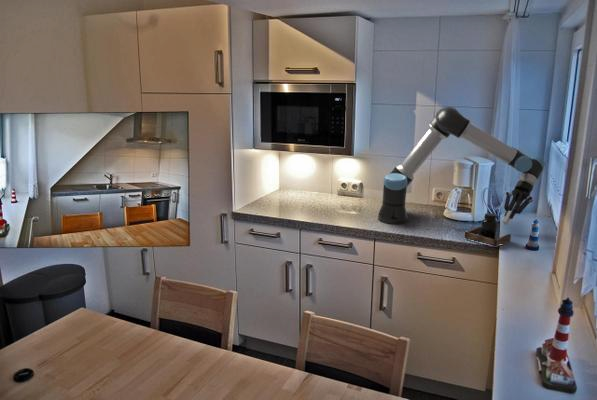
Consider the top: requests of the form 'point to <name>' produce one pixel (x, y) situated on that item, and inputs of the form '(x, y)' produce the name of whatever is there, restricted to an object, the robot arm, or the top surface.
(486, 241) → the walnut bay
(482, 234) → the supplement bottle
